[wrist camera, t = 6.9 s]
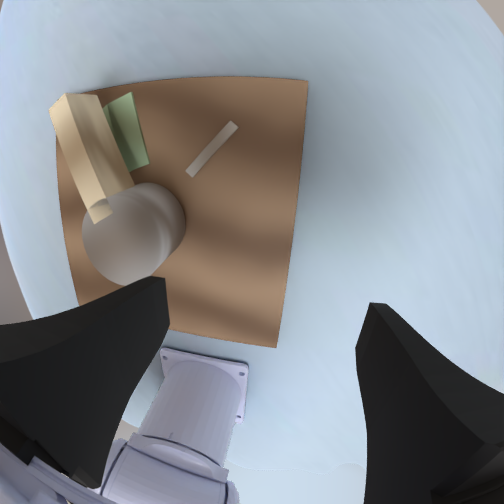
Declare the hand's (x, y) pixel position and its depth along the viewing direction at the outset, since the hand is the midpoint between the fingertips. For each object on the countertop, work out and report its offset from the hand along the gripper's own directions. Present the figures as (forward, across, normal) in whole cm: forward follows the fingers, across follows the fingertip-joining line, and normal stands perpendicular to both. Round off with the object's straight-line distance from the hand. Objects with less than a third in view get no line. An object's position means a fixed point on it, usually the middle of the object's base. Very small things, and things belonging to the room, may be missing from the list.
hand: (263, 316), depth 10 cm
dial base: (+9, +8, 0) cm, 12 cm away
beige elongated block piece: (+8, +10, -3) cm, 13 cm away
